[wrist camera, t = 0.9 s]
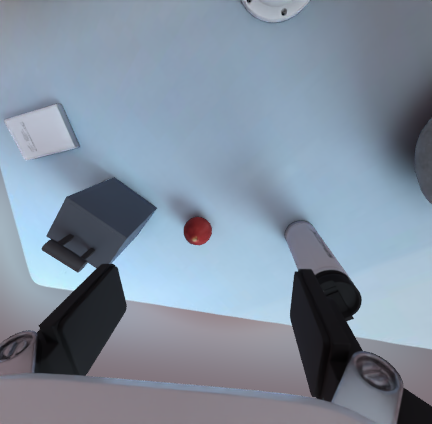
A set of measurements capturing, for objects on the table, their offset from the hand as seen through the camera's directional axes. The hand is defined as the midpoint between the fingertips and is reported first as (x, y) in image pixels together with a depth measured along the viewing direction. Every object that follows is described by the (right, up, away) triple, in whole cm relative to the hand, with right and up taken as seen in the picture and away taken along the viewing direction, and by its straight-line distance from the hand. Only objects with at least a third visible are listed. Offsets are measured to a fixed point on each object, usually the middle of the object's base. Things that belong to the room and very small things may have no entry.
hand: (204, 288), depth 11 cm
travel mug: (+19, -1, +36) cm, 40 cm away
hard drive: (-34, +20, +33) cm, 52 cm away
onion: (-3, +2, +37) cm, 37 cm away
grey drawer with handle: (-18, +5, +27) cm, 33 cm away
